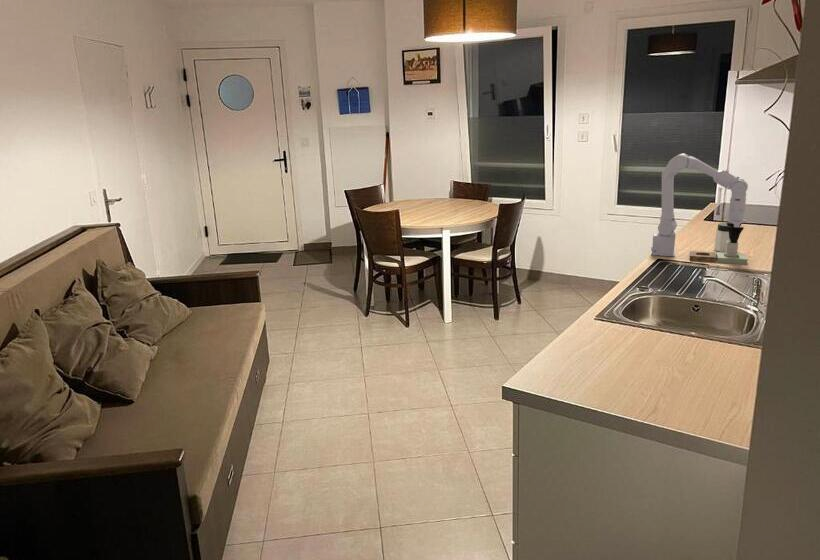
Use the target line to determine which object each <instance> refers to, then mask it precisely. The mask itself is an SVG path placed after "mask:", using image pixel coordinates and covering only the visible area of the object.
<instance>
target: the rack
mask: <svg viewBox="0 0 820 560" xmlns="http://www.w3.org/2000/svg"><path fill="white" fill-rule="evenodd" d="M715 254H716V262H717V263H722V264H736V265H737V264H739V265H740V264H741V265H747V264H748V257H747V256H746V253H740V252H739V253H738V252H737V257H725V252H718V251H715Z"/></svg>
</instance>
